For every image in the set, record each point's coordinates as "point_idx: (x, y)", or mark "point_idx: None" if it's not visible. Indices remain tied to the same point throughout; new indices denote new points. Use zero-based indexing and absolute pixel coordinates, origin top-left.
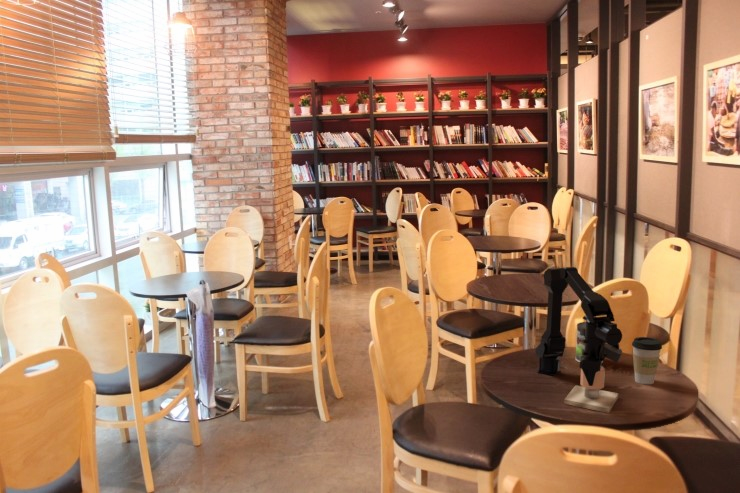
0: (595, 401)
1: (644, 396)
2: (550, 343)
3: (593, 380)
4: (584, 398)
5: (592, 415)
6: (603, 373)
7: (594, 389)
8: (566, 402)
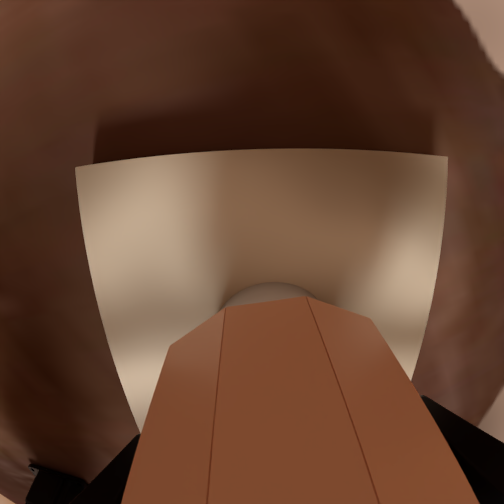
0: (365, 282)
1: (2, 44)
2: None
3: (479, 430)
4: None
5: (488, 241)
6: (389, 478)
7: None
8: None
